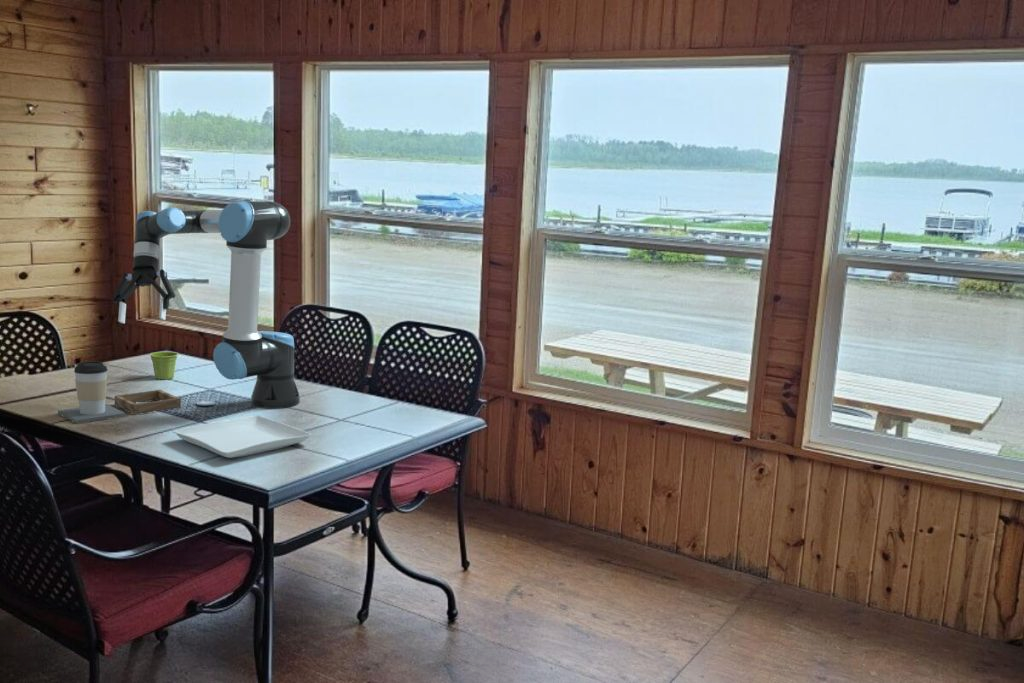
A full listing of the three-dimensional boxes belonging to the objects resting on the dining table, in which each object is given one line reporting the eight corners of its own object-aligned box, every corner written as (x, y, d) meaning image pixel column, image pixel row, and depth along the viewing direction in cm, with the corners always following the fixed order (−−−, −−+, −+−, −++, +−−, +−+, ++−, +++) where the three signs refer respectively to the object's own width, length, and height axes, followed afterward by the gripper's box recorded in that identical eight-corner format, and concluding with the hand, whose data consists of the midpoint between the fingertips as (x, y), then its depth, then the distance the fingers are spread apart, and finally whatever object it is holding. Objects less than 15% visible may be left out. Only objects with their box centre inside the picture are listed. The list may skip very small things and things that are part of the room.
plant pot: (151, 375, 323) (150, 351, 322) (179, 374, 326) (178, 351, 325) (149, 381, 315) (148, 356, 313) (178, 380, 318) (177, 356, 316)
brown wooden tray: (180, 408, 283) (180, 398, 282) (134, 415, 272) (134, 405, 272) (160, 398, 292) (159, 389, 292) (114, 405, 282) (114, 395, 282)
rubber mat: (125, 416, 271) (124, 413, 270) (76, 423, 261) (75, 420, 260) (106, 406, 280) (105, 403, 280) (58, 413, 270) (58, 410, 270)
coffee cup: (96, 406, 276) (94, 357, 274) (115, 411, 272) (114, 362, 269) (69, 412, 269) (67, 362, 266) (88, 417, 264) (86, 366, 262)
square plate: (313, 446, 252) (313, 432, 251) (225, 466, 231) (225, 451, 231) (257, 425, 269) (257, 412, 268) (171, 442, 249) (170, 428, 248)
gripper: (188, 259, 297) (184, 321, 291) (115, 265, 300) (111, 327, 294) (177, 250, 290) (173, 314, 284) (103, 257, 293) (98, 320, 287)
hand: (141, 320), depth 289 cm, fingers open, 13 cm apart
